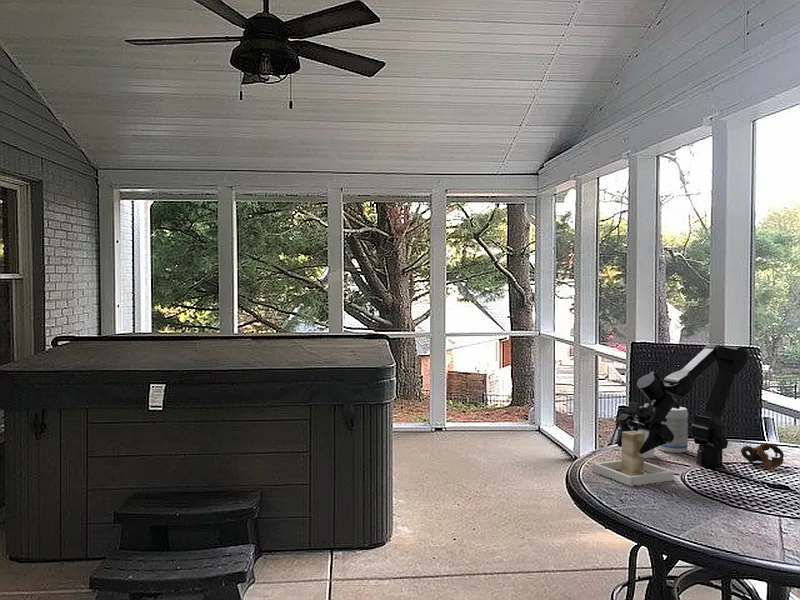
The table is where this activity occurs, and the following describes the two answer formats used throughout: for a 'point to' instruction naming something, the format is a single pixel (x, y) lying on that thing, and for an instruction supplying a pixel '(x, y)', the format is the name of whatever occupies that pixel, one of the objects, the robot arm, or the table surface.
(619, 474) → the tray
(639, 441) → the tan square block
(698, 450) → the robot arm
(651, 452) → the jar
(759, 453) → the brown looped piece
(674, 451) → the supplement tub
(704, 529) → the table surface
